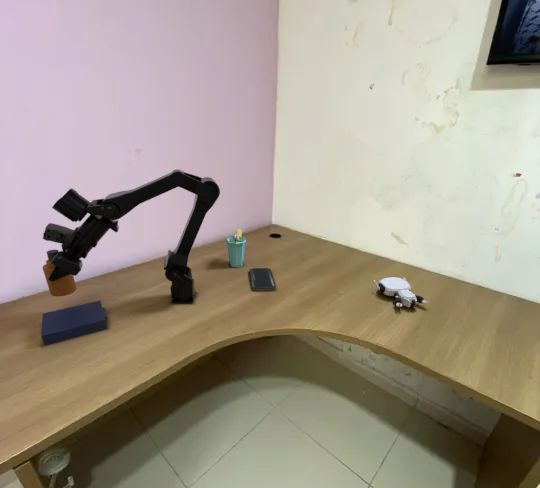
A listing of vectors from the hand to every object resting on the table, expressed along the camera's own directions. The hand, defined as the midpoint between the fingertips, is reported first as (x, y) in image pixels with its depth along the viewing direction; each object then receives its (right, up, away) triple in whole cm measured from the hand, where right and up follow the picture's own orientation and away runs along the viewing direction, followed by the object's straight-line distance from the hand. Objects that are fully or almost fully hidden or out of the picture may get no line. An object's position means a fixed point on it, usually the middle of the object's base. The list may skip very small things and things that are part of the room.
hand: (53, 274), depth 84 cm
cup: (+45, +2, +39) cm, 60 cm away
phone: (+56, -3, +28) cm, 63 cm away
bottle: (+1, -5, +3) cm, 5 cm away
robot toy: (+102, -9, +21) cm, 105 cm away
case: (+6, -14, 0) cm, 15 cm away
